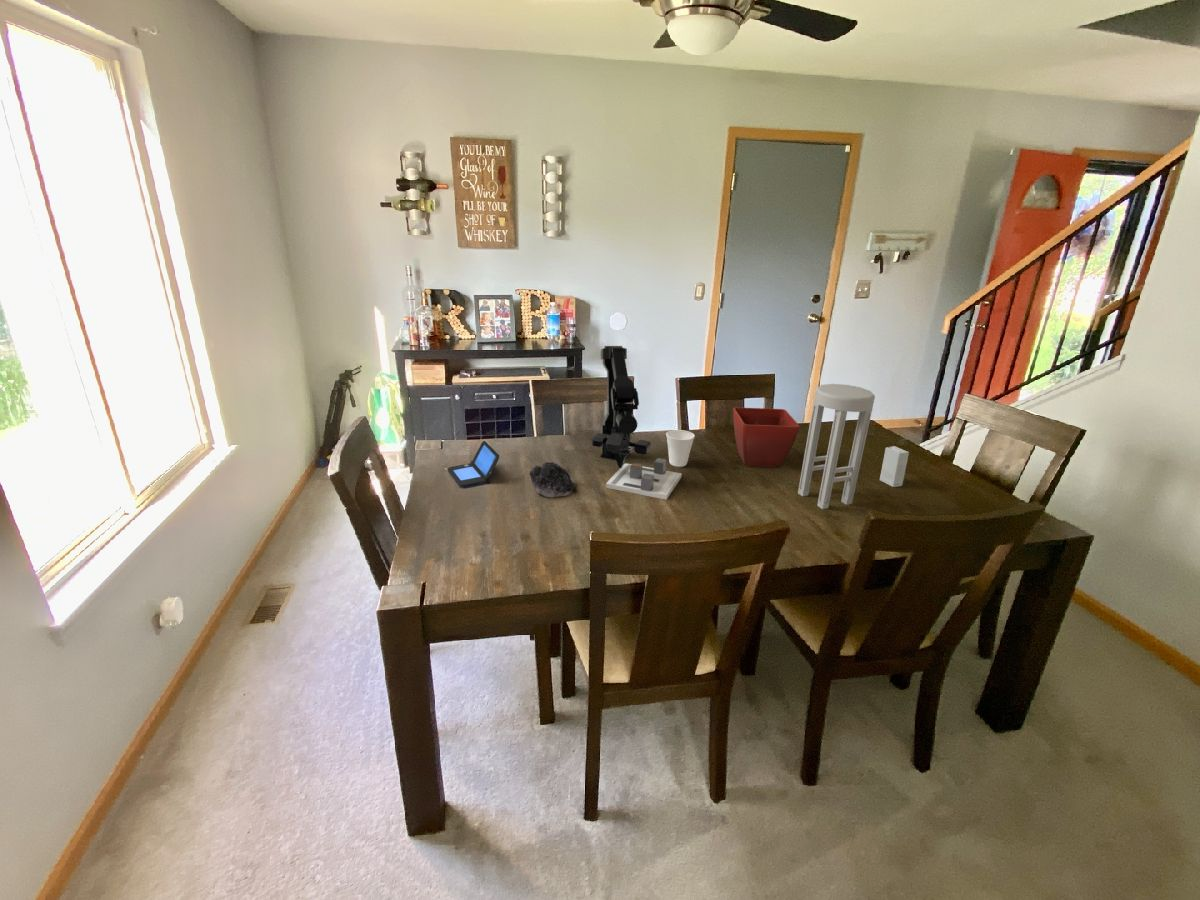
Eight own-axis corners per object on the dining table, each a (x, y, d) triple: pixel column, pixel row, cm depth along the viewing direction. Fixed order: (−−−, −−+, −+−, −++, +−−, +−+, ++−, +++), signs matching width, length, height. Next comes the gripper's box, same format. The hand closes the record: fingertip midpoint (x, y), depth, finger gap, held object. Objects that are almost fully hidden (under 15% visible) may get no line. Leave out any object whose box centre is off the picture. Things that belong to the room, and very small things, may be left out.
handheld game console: (447, 471, 190) (444, 445, 187) (485, 464, 196) (484, 439, 193) (460, 489, 178) (458, 462, 174) (501, 481, 184) (500, 455, 180)
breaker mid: (629, 477, 185) (630, 466, 183) (633, 473, 188) (633, 462, 186) (638, 479, 184) (639, 467, 182) (641, 475, 187) (642, 463, 185)
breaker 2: (653, 472, 189) (654, 461, 187) (656, 468, 192) (657, 458, 190) (662, 474, 188) (663, 463, 186) (665, 470, 191) (666, 459, 189)
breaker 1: (640, 489, 177) (641, 477, 175) (644, 485, 180) (644, 473, 178) (649, 491, 176) (650, 479, 174) (653, 486, 179) (654, 475, 177)
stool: (788, 491, 182) (805, 385, 169) (826, 485, 187) (846, 381, 174) (821, 513, 169) (843, 400, 156) (862, 505, 174) (886, 395, 161)
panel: (605, 487, 181) (606, 483, 180) (624, 467, 196) (625, 463, 196) (666, 499, 174) (666, 495, 174) (681, 477, 190) (681, 473, 189)
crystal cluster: (579, 485, 184) (578, 456, 181) (567, 500, 171) (565, 468, 169) (540, 483, 187) (538, 454, 184) (525, 497, 174) (523, 466, 172)
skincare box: (902, 486, 188) (911, 452, 184) (892, 487, 187) (900, 453, 182) (888, 478, 193) (895, 445, 189) (877, 480, 192) (885, 446, 188)
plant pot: (793, 472, 197) (801, 426, 190) (738, 470, 197) (744, 424, 191) (778, 451, 214) (785, 408, 208) (727, 449, 215) (732, 407, 208)
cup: (691, 459, 205) (694, 430, 201) (692, 470, 196) (695, 440, 191) (663, 457, 206) (666, 429, 201) (664, 468, 196) (666, 438, 192)
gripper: (585, 426, 177) (584, 471, 183) (642, 435, 171) (639, 482, 177) (598, 416, 187) (597, 459, 193) (653, 424, 181) (650, 469, 186)
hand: (620, 467), depth 187 cm, fingers closed
